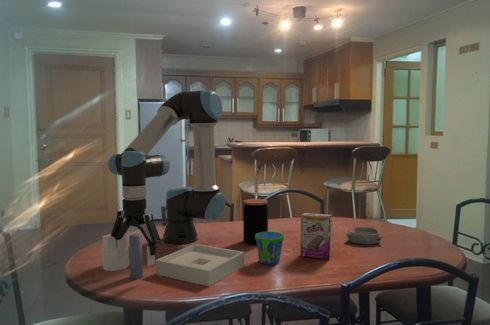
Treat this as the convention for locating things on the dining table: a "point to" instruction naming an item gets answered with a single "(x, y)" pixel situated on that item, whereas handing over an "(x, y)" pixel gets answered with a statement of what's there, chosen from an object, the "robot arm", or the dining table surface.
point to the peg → (135, 256)
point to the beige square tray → (200, 264)
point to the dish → (364, 235)
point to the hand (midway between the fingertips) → (135, 261)
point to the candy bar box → (316, 235)
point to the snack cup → (269, 247)
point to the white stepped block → (114, 254)
